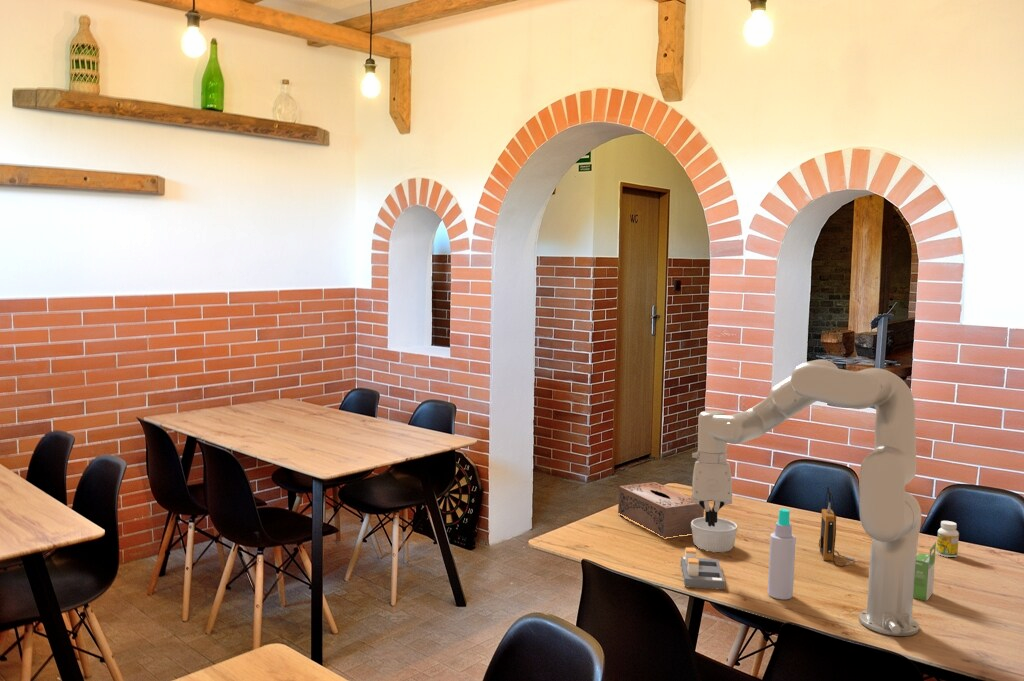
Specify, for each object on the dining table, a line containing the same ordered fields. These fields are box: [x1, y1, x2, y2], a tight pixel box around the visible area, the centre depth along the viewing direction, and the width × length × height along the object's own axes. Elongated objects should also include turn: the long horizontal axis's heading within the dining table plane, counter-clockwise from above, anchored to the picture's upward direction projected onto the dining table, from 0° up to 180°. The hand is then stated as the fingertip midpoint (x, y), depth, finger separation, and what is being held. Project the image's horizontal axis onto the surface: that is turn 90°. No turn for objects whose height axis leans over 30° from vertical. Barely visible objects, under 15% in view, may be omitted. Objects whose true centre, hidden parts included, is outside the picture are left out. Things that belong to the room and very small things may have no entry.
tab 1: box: [684, 547, 697, 565], centre depth 221 cm, size 3×3×5 cm
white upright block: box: [687, 557, 699, 576], centre depth 213 cm, size 3×3×5 cm
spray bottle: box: [767, 508, 797, 600], centre depth 204 cm, size 6×6×22 cm
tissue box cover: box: [617, 481, 705, 538], centre depth 260 cm, size 26×14×10 cm, turn 25°
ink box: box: [913, 541, 937, 602], centre depth 207 cm, size 7×4×13 cm, turn 141°
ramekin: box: [691, 516, 738, 553], centre depth 240 cm, size 13×13×7 cm
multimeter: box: [818, 486, 861, 567], centre depth 232 cm, size 15×10×20 cm
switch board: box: [680, 556, 726, 590], centre depth 217 cm, size 16×10×2 cm, turn 172°
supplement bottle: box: [936, 520, 960, 558], centre depth 237 cm, size 5×5×10 cm
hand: (711, 524), depth 219 cm, fingers closed
